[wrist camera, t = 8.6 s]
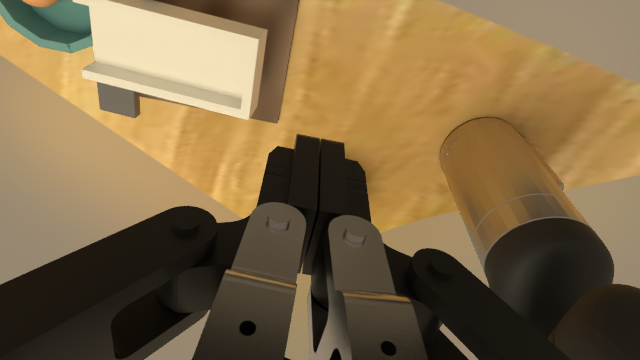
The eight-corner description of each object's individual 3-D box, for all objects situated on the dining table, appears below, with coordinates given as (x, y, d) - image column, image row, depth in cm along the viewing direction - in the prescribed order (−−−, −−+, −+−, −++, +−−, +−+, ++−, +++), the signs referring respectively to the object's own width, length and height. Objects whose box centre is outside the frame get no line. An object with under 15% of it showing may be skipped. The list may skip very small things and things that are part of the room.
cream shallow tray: (267, 29, 34) (258, 39, 32) (252, 142, 41) (243, 157, 38) (93, -16, 34) (71, -9, 32) (105, 105, 41) (87, 118, 38)
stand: (299, -5, 39) (295, 10, 34) (278, 119, 47) (272, 146, 42) (127, -46, 37) (96, -36, 32) (134, 90, 45) (110, 115, 40)
